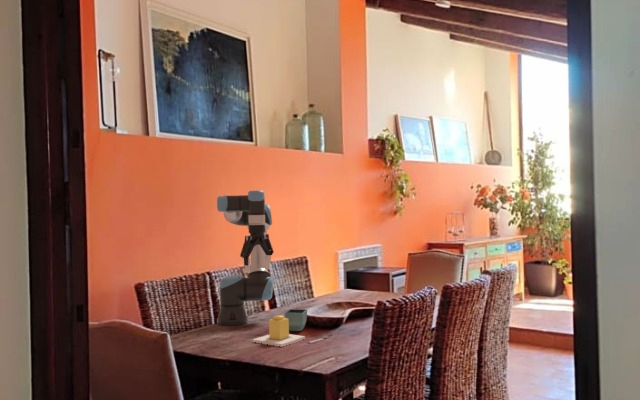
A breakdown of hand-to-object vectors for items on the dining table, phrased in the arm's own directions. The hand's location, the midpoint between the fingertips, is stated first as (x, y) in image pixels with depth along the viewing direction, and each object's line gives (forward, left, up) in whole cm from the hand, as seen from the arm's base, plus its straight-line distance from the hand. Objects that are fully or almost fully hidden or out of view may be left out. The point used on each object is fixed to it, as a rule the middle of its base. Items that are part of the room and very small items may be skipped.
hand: (257, 271), depth 266 cm
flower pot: (-15, +10, -29) cm, 34 cm away
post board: (+5, +16, -29) cm, 33 cm away
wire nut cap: (+5, +16, -27) cm, 32 cm away
